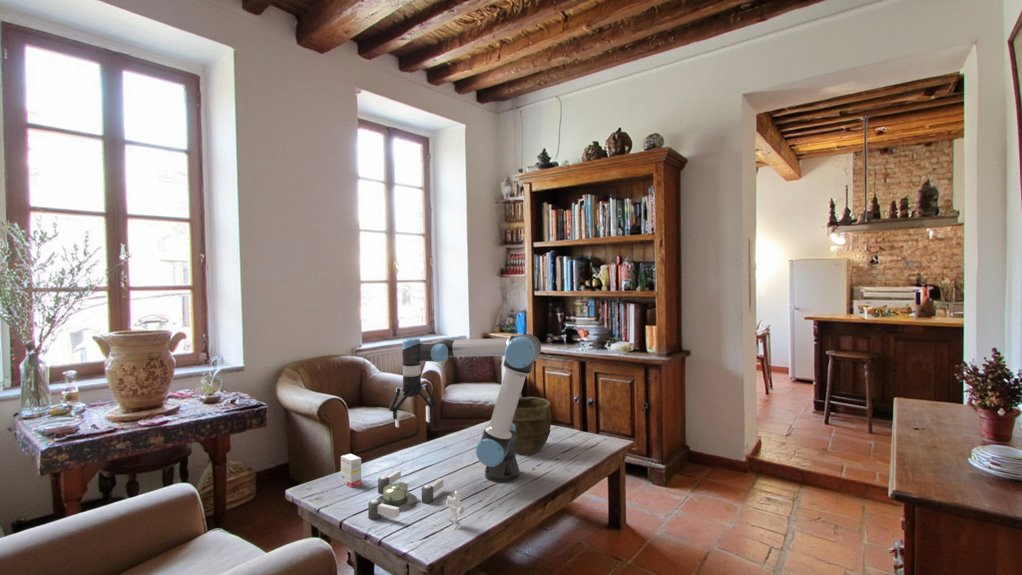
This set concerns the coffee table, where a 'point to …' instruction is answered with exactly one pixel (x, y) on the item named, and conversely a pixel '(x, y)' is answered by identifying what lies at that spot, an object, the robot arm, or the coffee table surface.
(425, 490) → the knob near
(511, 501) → the coffee table surface
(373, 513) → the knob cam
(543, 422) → the clay pot
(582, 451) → the coffee table surface
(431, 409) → the robot arm
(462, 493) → the coffee table surface
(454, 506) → the figurine
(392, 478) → the knob far
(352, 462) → the ink box
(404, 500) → the base
